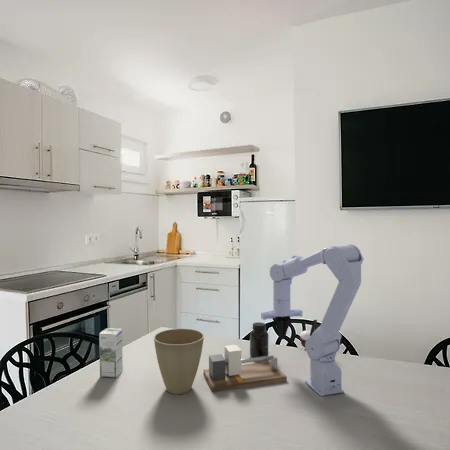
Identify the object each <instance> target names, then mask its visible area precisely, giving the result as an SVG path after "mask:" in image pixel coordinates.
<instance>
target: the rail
mask: <svg viewBox="0 0 450 450" xmlns="http://www.w3.org/2000/svg"><path fill="white" fill-rule="evenodd" d="M260 361H262V362H264V361H268V362H269V369H270V370H271V371H275V370H277V367H278V357H277V356H275V355H268V356H263V357H255V358H252V357H248V358H241V364H247V363H254V362H260ZM225 365H228V361H225Z"/></svg>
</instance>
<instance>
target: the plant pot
mask: <svg viewBox="0 0 450 450" xmlns="http://www.w3.org/2000/svg"><path fill="white" fill-rule="evenodd" d="M204 338H205V336H204V333H203V332H202V331H199V330H196V329H191V328H171V329H166V330H162V331H159V332H157V333H156V334H155V335H154V337H153V341H154V348H155V353H156V355H155V356H156V360H157V364H158V367H159V372H160V374H161V378H162V381H163V384H164V387H165V389H166V391H167V392H168V393H170V394H173V395H182V394H186V393H188V392H189V391H191V389H192V387H193V384H194V382H195V379H196V375H197V372H198V369H199V366H200V362H201V358H202V357H201V356H202V352H203V347H204V346H203V345H204V340H205V339H204Z"/></svg>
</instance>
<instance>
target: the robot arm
mask: <svg viewBox="0 0 450 450" xmlns="http://www.w3.org/2000/svg"><path fill="white" fill-rule="evenodd" d="M363 261H364V257H363V255H362V252H361V250H360V249H359V247H358V246H356V245H355V244H347V245H340V246H339V245H337V246H333V245H332V246H329V247H325V248H322V249H320V250H318V251H316V252H313V253H311V254H309V255H307V256H305V257H303V256H301V255H292V256H291V259H288V260H283V261H282V262H281V263H274V264H273V265H272V266H271V267H269V268H270V269H269V276H270V278H271V280H272V281H273V287H272V288H273V294H272V296H273V303H272V305H273V308H272V309H273V310H269V311H262V312H261V313H260V319H261V320H263V321H264V320H269V319H272V321H273V323H274V325H275V327H276V330H277V335H278V338H279V339H280V340H285V339H286V336H287V332H288V330H289V327H290V325H291V324H292V320H293V319H292V318H293V317H303V310H301V309H291V285H292V283H293V282H292V281H293V278H295V277H298V276H300V275H304V274H305V273H307V272H308V268H310V267H314V266H316V265H319V264H322V265H326V266H327V268H328V269H329V270H330V271H331V274H333V276H334V278H335V279H336V280H338V284H337V285H336V288H335V291H334V293H333V295H332V297H331V300H330V302H329V304H328V307H327V308H326V312H325V314H324V316H323V319H322V321H321V323H320V325H319V326H318V327H317V328H315V331H314V332H313V333H312V335H311V337H310V338H308V339H307V340H306V342H305V348H304V349H305V352H306V354H307V355H308V358H310V362H309V363H310V366H309V367H310V379H305V380H304V383H306V384H307V385H308V386H309V387H310V388H311V389H312V390H314V391H315V392H316V393H317V394H318V395H319V396H330V395H334V394H340V393H341V394H342V393H345V390H344V389H343V388H342V369H341V368H340V366H339V365H338V364H337V362H336V356H337V352H339V351H340V349H341V340H342V334H341V333H340V330H341V329H342V326H343V323H344V321H345V320H346V317H347V315H348V313H349V310H350V308H351V305H353V301H354V299H355V298H356V295H357V293H358V291H359V289H360V286H361V285H362V264H363ZM291 317H292V318H291Z"/></svg>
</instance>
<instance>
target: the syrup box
mask: <svg viewBox="0 0 450 450" xmlns="http://www.w3.org/2000/svg"><path fill="white" fill-rule="evenodd" d="M98 335H99V337H98V340H99V341H98V342H99V378H118V377H119V376H120V374H121V373H122V372H123V370H124V366H123V365H124V364H123V328H113V327H111V328H107V327H106V328H104V329H103V330H101V331H100V332H99V334H98Z"/></svg>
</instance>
